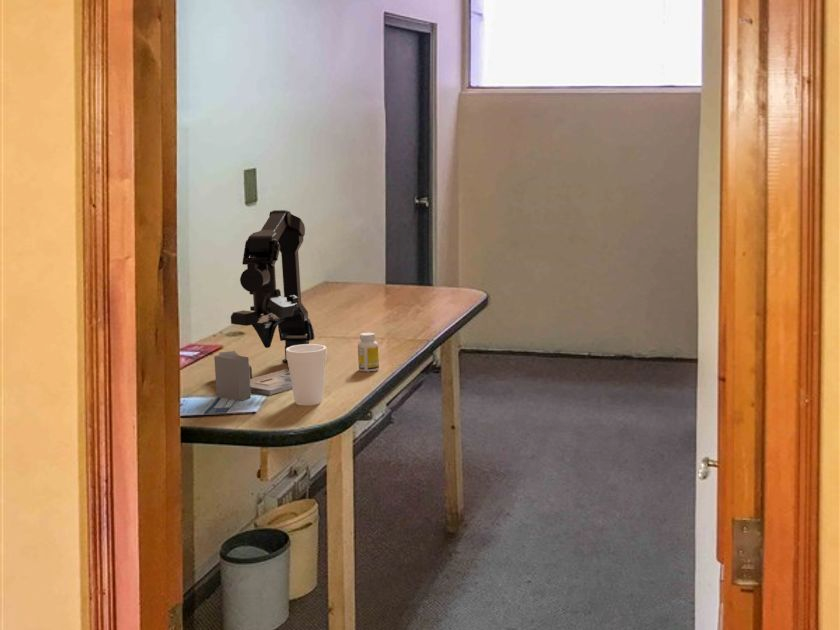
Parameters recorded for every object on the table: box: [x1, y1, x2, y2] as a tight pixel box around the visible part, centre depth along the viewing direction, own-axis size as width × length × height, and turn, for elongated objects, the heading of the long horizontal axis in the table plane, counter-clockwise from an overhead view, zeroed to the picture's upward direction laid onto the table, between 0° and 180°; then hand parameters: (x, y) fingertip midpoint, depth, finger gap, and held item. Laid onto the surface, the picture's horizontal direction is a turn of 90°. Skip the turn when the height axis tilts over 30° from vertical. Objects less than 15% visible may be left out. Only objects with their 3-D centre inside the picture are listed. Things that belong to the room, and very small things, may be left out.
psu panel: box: [250, 368, 293, 396], centre depth 265 cm, size 18×13×2 cm
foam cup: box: [286, 343, 328, 406], centre depth 245 cm, size 10×9×13 cm
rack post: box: [213, 354, 252, 402], centre depth 252 cm, size 4×8×10 cm, turn 53°
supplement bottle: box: [357, 332, 380, 373], centre depth 277 cm, size 5×5×10 cm
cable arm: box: [218, 350, 253, 394], centre depth 264 cm, size 22×4×7 cm, turn 21°
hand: (267, 347), depth 261 cm, fingers closed
